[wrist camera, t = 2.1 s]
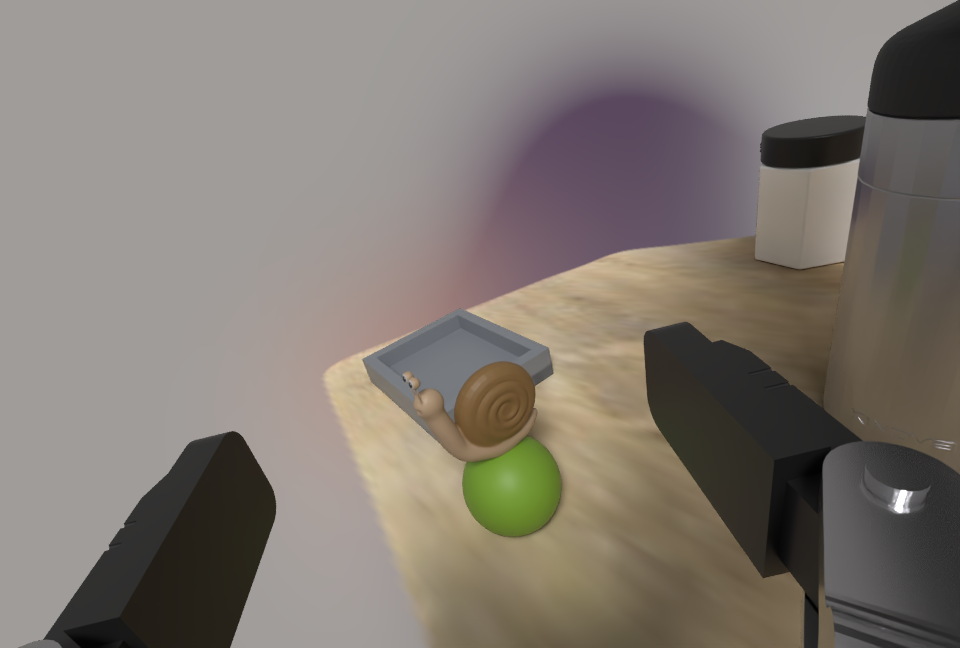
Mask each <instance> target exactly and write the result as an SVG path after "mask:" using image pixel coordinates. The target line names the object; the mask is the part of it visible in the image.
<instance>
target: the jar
mask: <svg viewBox="0 0 960 648" xmlns="http://www.w3.org/2000/svg"><path fill="white" fill-rule="evenodd" d="M865 122H866V117H863V116H829V117H818V118H811V119H804V120H798V121H794V122H789V123H785V124H781V125H778V126H775V127H772V128H770V129H768V130H766V131H765V132H764V133H763V134H762V142H761V147H760V148H761V150H760V152H761V162H762V164H761V166H760V170H759V187H758V206H757V223H756V241H755V259H756V260H760V261H764V262H769V263H773V264H777V265H781V266H786V267H790V268H794V269H806V268H812V267H817V266H823V265H829V264H835V263H840V262H844V261H845V254H846V248H847V242H848V235H849V229H850V222H851V216H852V209H853V203H854V197H855V190H856V184H857V177H858V168H859V162H860V155H861V149H862V142H863V135H864V129H865Z"/></svg>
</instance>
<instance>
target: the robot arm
mask: <svg viewBox="0 0 960 648" xmlns="http://www.w3.org/2000/svg"><path fill="white" fill-rule="evenodd" d="M644 354H645V369H646V384H647V398H648V403H649V407H650V411H651V414H652V416H653V419H654V421H655V423H656V425H657V427H658V428H659V430H660V431H661V433H662V434H663V436H664V437H665V438H666V440H667V441H668V443H669V444H670V446H671V447H672V448H673V450H674V451H675V453H676V454H677V456H678V457H679V458H680V460H681V461H682V463H683V464H684V466H685V467H686V468H687V470H688V471H689V473H690V474H691V476H692V477H693V479H694V480H695V481H696V483H697V484H698V486H699V487H700V489H701V490H702V491H703V493H704V494H705V496H706V497H707V499H708V500H709V501H710V503H711V504H712V506H713V507H714V509H715V510H716V511H717V513H718V514H719V516H720V517H721V519H722V520H723V521H724V523H725V524H726V526H727V527H728V529H729V530H730V532H731V533H732V534H733V536H734V537H735V539H736V540H737V542H738V543H739V544H740V546H741V547H742V549H743V550H744V552H745V553H746V554H747V556H748V557H749V559H750V560H751V562H752V563H753V564H754V566H755V567H756V569H757V570H758V572H759V573H760V574H761V576H762V577H763V578H766V577H771V576H775V575H779V574H783V573H787V572H790V573H791V574H792V575H793V577H794V578H795V579H796V581H797V582H798V583H799V584H800V586H801V587H802V588H803V594H802V601H801V647H800V648H960V0H958V1H956V2H954V3H952V4H950V5H948V6H946V7H945V8H943V9H941V10H939V11H937V12H935V13H933V14H931V15H929V16H927V17H925V18H923V19H921V20H919V21H917V22H915V23H914V24H911V25H910V26H907V27H906V28H904V29H902V30H901V31H899V32H898V33H896V34H895V35H894V36H892V37H891V38H890V39H889V40H888V41H887V42H886V43H885V44H884V45H883V47H882V48H881V49H880V51H879V53H878V55H877V58H876V61H875V64H874V69H873V73H872V78H871V85H870V92H869V98H868V109H867V116H866V122H865V129H864V135H863V142H862V149H861V155H860V162H859V168H858V177H857V184H856V190H855V197H854V203H853V209H852V216H851V222H850V229H849V235H848V242H847V248H846V254H845V261H844V267H843V274H842V280H841V286H840V293H839V299H838V306H837V312H836V319H835V325H834V331H833V338H832V344H831V349H830V356H829V362H828V369H827V375H826V382H825V389H824V395H823V407H824V409H822V408H821V407H820V406H819V405H817V404H816V403H815V402H814V401H812V400H811V399H810V398H809V397H807V396H806V395H805V394H804V393H802V392H801V391H800V390H798V389H797V388H796V387H795V386H793V385H791V386H790V385H789V383H788V381H787V380H786V379H785V378H783V377H782V376H781V375H780V374H778V373H777V372H776V371H772V370H771V367H769V366H768V365H767V364H766V363H764V362H763V361H762V360H761V359H759V358H758V357H757V356H756V355H754V354H753V353H752V352H751V351H749V350H746V349H743V348H741V347H738V346H736V345H733V344H731V343H728V342H726V341H723V340H720V341H716V342H711V341H710V340H709V339H707V338H706V337H705V336H704V335H703V334H702V333H700V332H699V331H698V330H697V329H696V328H695V327H694V326H692V325H691V324H690V323H688V322H682V323H678V324H674V325H670V326H666V327H662V328H658V329H654V330H649V331H647V332H646V333H645V335H644ZM275 515H276V500H275V495H274V491H273V489H272V487H271V485H270V483H269V481H268V479H267V478H266V476H265V474H264V473H263V471H262V469H261V467H260V466H259V464H258V462H257V460H256V459H255V457H254V455H253V454H252V452H251V450H250V448H249V447H248V445H247V443H246V441H245V440H244V438H243V437H242V436H241V435H240V434H239V433H237V432H234V431H232V432H227V433H223V434H219V435H215V436H211V437H206V438H203V439H199V440H194V441H192V442H190V443H189V444H188V445H187V446H186V448H185V449H184V451H183V452H182V454H181V455H180V457H179V458H178V460H177V461H176V463H175V464H174V466H173V467H172V469H171V470H170V472H169V473H168V474H167V475H166V476H165V477H164V478H163V479H162V480H161V481H159V482H158V484H156V485H155V486H154V487H153V488H152V489H151V490H150V491H149V492H148V493H147V494H146V495H144V497H142V498H141V500H140V501H139V503H138V504H137V506H136V507H135V508H134V510H133V511H132V513H131V514H130V516H129V517H128V519H127V520H126V522H125V523H124V525H125V527H124V528H122V529H120V530H119V532H118V533H117V534H116V536H115V537H114V539H113V540H112V542H111V543H110V544H109V550H108V551H105V552H104V553H103V555H102V556H101V557H100V559H99V560H98V562H97V563H96V565H95V566H94V567H93V569H92V570H91V572H90V573H89V575H88V576H87V578H86V579H85V580H84V582H83V583H82V585H81V586H80V588H79V589H78V591H77V592H76V593H75V595H74V596H73V598H72V599H71V601H70V602H69V603H68V605H67V606H66V608H65V609H64V611H63V612H62V614H61V615H60V616H59V618H58V619H57V621H56V622H55V623H54V625H53V626H52V628H51V629H50V631H49V632H48V634H47V635H46V637H45V638H44V639H43V640H39V641H35V642H32V643H29V644H26V645H24V646H21V647H19V648H230V646H231V644H232V641H233V638H234V635H235V632H236V629H237V626H238V623H239V621H240V618H241V615H242V612H243V609H244V606H245V603H246V600H247V598H248V595H249V592H250V589H251V586H252V583H253V580H254V578H255V575H256V572H257V569H258V566H259V563H260V560H261V558H262V555H263V552H264V549H265V546H266V543H267V540H268V538H269V534H270V532H271V529H272V526H273V523H274V520H275Z"/></svg>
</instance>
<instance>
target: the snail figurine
mask: <svg viewBox="0 0 960 648" xmlns="http://www.w3.org/2000/svg"><path fill="white" fill-rule="evenodd" d="M402 378H403V381H404V382H405V383H407V384H409V387H410V389H411V391H412V393H413V395H414V397H415V399H414V402H413V407H414V409H415V410H416V412H417V414H418V416H419V417H421V418H422V419H423V420H424V421H425V422H426V424H427V426H428V427H429V429H430V431H431V432H432V434H433V435H434V436H435V437H436V439H437V440H438V441H439V443H440V444H441V445H442V446H443V448H444V449H445V450H446V451H448V452H449V453H450V454H451V455H453V456H454V457H456V458H457V459H459V460H462V461H465V462H467V463H466V466H465V469H464V473H463V482H462V486H463V494H464V498H465V502H466V504H467V507H468V509H469V511H470V512H471V514H472V515H473V517H474V518H475V519H476V520H477V521H478V522H479V523H480V524H481V525H482V526H483V527H485V528H486V529H488V530H489V531H491V532H493V533H496V534H498V535H502V536H508V537H518V536H524V535H527V534H530V533H532V532H535V531H536V530H538V529H539V528H541V527H542V526H543V525H545V524H546V523H547V522H548V520H549V519H550V518H551V517H552V515H553V514H554V512H555V510H556V508H557V506H558V503H559V500H560V495H561V477H560V472H559V469H558V466H557V463H556V461H555V459H554V458H553V456H552V455H551V453H550V452H549V451H548V450H547V448H546V447H545V446H543V445H542V444H541V443H540V442H538V441H537V440H535V439H534V438H532V437H529V436H527V434H528V433H529V432H530V430H531V428H532V426H533V424H534V422H535V419H536V416H537V410H536V409H535V408H533V406H534V403H535V386H534V383H533V380H532V378H531V376H530V374H529V373H528V372H527V371H526V370H525V369H524V368H523V367H521V366H520V365H518V364H515V363H512V362H508V361H499V362H494V363H491V364H488V365H486V366H484V367H482V368H480V369H479V370H477V371H476V372H475V373H473V374H472V375H471V376H470V377H469V378H468V379H467V381H466V382H465V383H464V384H463V386H462V388H461V389H460V391H459V393H458V396H457V398H456V402H455V406H454V421H455V423H454V422H453V420H452V419H451V418H450V416H449V415H448V414H447V412H446V410H445V408H444V398H443V396H442V394H441V393H440V392H439V391H438V390H436V389H432V388H427V389H423V390H421V391H420V392H419V393H417V389H418V388H419V387H420V380H419V379H418V378H416V377H414V375H413V373H412V372H409V371H407V372H404V373H403V375H402ZM412 389H413V390H415V392H416V395H415V393H414V392H413V390H412Z"/></svg>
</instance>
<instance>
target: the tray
mask: <svg viewBox="0 0 960 648" xmlns="http://www.w3.org/2000/svg"><path fill="white" fill-rule="evenodd" d="M362 360H363V362H364V365H365V367H366V370H367V372H368V375H369V377H370V380H371V382H372V383H373V384H375V385H376V386H377V387H378V388H379V389H380V390H381V391H382V392H383V393H385V394H386V395H387V396H388V397H389V398H390V399H391V400H392V401H393V402H395V403H396V404H397V405H398V406H399V407H400V408H401V409H402V410H403V411H405V412H406V413H407V414H408V415H409V416H410V417H411V418H412V419H413V420H415V421H416V422H417V423H418V424H419V425H420V426H421V427H422V428H423V429H424V430H426V431H427V432H428V433H429V434H430V435H431V436H432V437H433V438H434V439H436V437H435V436H434V435H433V434H432V432H431V431H430V429H429V427H428V426H427V424H426V422H425V421H424V420H423V419H422V418H421V417H419V416H418V414H417V412H416V410H415V409H414V407H413V402H414V399H415V397H414V395H413V393H412V391H411V389H410V387H409V384H407V383H405V382H404V381H403V378H402V375H403V373H404V372H407V371H409V372H412V373H413V375H414V377H416V378H418V379H419V380H420V387H419V388H418V389H417V393H419V392H420V391H421V390H423V389H427V388H432V389H436V390H438V391H439V392H440V393H441V394H442V396H443V398H444V408H445V410H446V412H447V414H448V415H449V416H450V418H451V419H452V420H453V422H454V423H455V421H454V406H455V402H456V398H457V396H458V393H459V391H460V389H461V388H462V386H463V384H464V383H465V382H466V381H467V379H468V378H469V377H470V376H471V375H472V374H473V373H475V372H476V371H477V370H479V369H480V368H482V367H484V366H486V365H488V364H491V363H494V362H499V361H508V362H512V363H515V364H518V365H520V366H521V367H523V368H524V369H525V370H526V371H527V372H528V373H529V374H530V376H531V378H532V380H533V383H534V386H535V385H537V384H538V383H540V382H541V381H543V380H544V379H546V378H547V377H549V376H550V375H552V374H553V368H552V363H551V357H550V351H549V348H548V347H546V346H544V345H541V344H539V343H537V342H535V341H532V340H530V339H528V338H526V337H523V336H521V335H519V334H517V333H514V332H512V331H510V330H508V329H505V328H503V327H501V326H499V325H496V324H494V323H492V322H490V321H487V320H485V319H483V318H481V317H478V316H476V315H474V314H471V313H469V312H467V311H465V310H462V309H458V310H456V311H454V312H452V313H450V314H448V315H446V316H444V317H442V318H440V319H439V320H436V321H435V322H433V323H431V324H429V325H427V326H425V327H423V328H421V329H419V330H417V331H415V332H413V333H412V334H410V335H408V336H406V337H404V338H402V339H400V340H398V341H396V342H394V343H392V344H390V345H389V346H387V347H385V348H383V349H381V350H379V351H377V352H375V353H373V354H371V355H369V356H367V357H366V358H364V359H362ZM412 390H413V389H412ZM413 392H414V393H415V395H416V392H415V390H413ZM436 440H437V439H436ZM437 441H438V440H437ZM438 442H439V441H438Z"/></svg>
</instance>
